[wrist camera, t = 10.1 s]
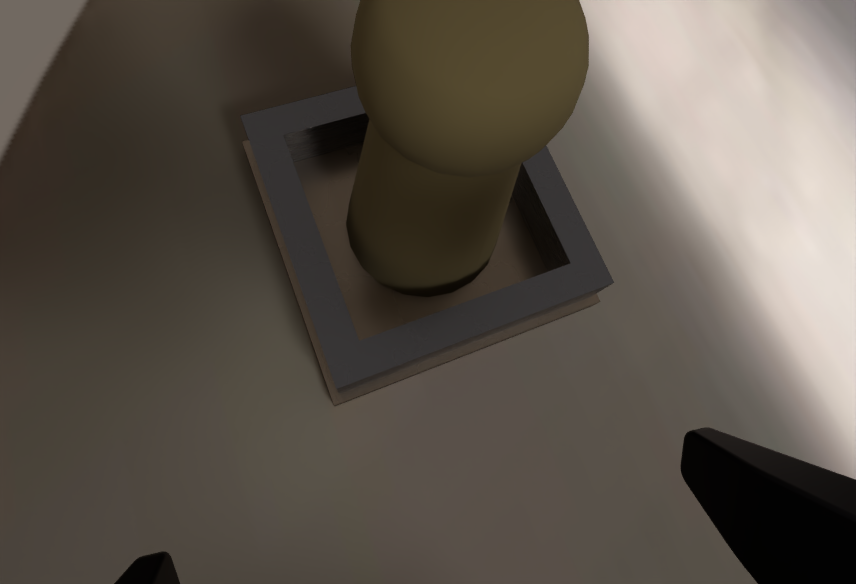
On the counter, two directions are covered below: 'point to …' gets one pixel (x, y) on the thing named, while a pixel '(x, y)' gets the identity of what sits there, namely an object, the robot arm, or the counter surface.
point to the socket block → (384, 307)
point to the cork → (453, 127)
